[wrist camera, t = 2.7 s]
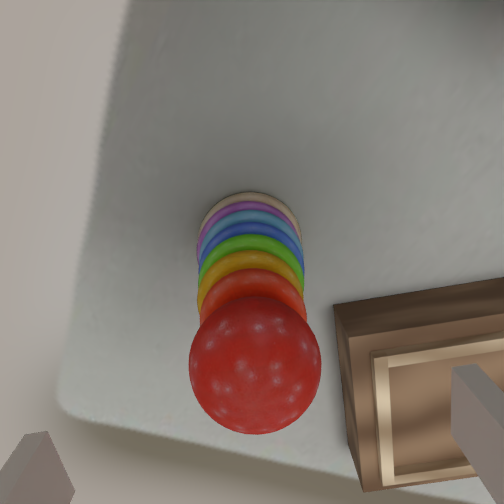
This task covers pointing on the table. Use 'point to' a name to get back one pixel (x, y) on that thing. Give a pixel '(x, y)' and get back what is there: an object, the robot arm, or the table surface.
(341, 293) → the table surface
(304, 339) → the stacking toy
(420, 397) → the plinth
